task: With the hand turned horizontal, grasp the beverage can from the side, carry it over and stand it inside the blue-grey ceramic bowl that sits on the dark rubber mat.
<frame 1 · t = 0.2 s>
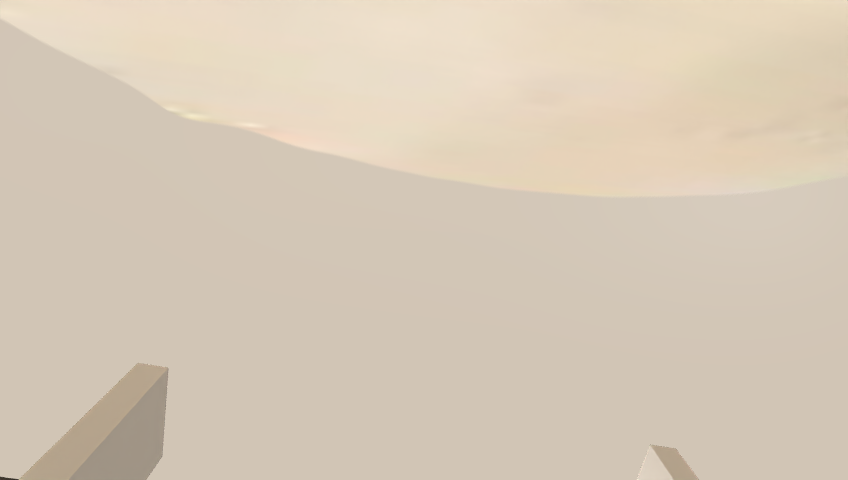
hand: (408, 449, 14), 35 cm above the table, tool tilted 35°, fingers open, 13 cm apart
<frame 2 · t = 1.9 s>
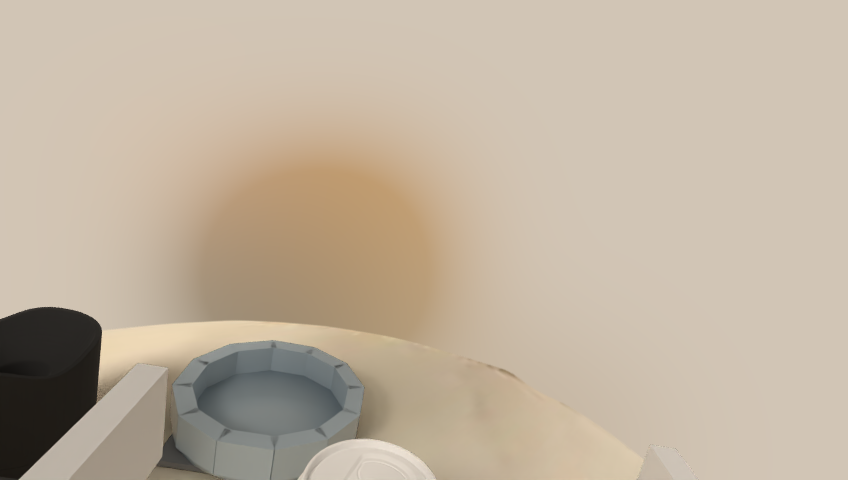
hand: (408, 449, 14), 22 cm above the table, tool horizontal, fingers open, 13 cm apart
bowl: (269, 418, 46), resting on mat
mat: (268, 423, 46), on the table
pen holder: (22, 459, 38), on the table
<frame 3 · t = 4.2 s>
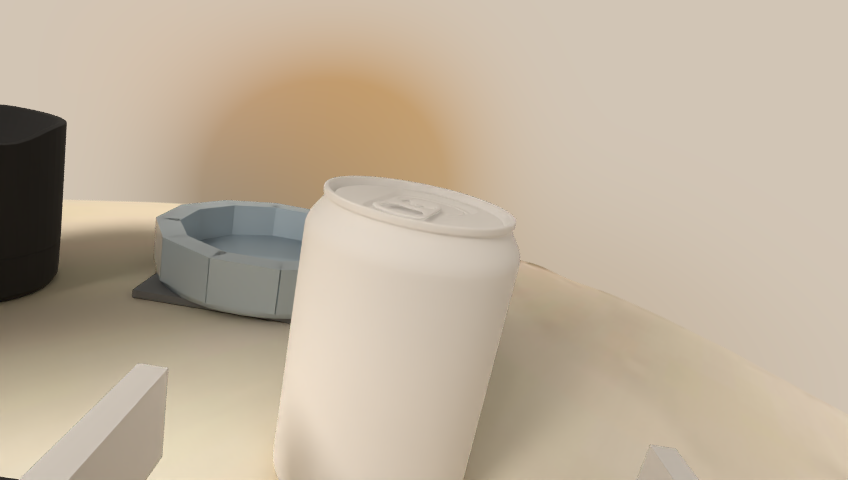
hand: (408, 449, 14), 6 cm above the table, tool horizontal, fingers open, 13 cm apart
beverage can: (367, 470, 22), on the table
bowl: (272, 271, 39), resting on mat
mat: (271, 277, 39), on the table
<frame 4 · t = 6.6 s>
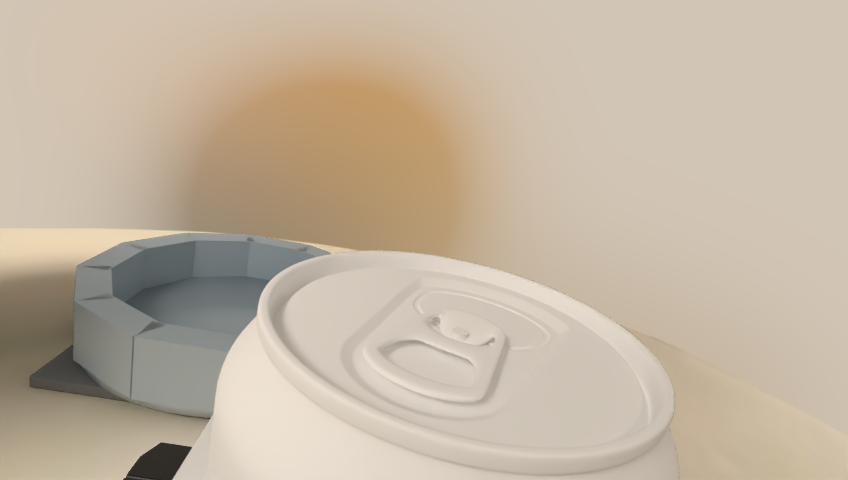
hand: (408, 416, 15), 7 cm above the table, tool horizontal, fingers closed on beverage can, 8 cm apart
bowl: (240, 332, 30), resting on mat
mat: (239, 339, 30), on the table
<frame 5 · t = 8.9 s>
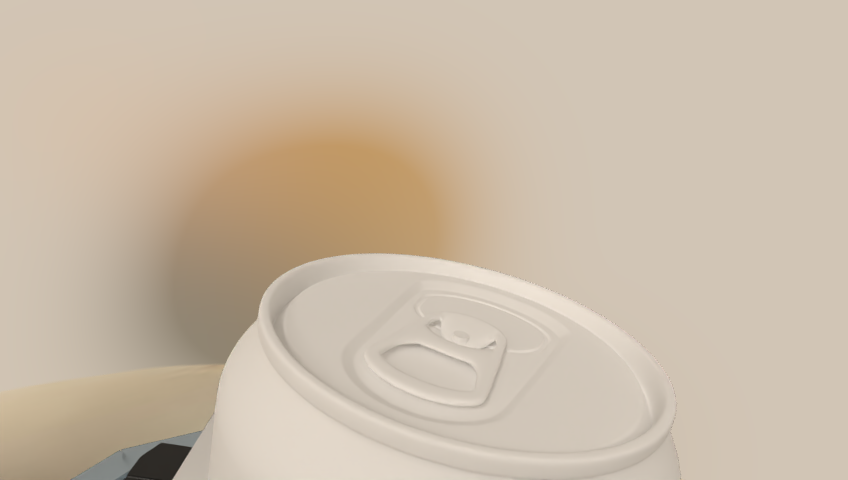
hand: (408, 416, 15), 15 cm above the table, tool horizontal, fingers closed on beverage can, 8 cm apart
when the fingers open (9 cm above the table, at t = 11.5 s): beverage can drops 2 cm, resting on bowl.
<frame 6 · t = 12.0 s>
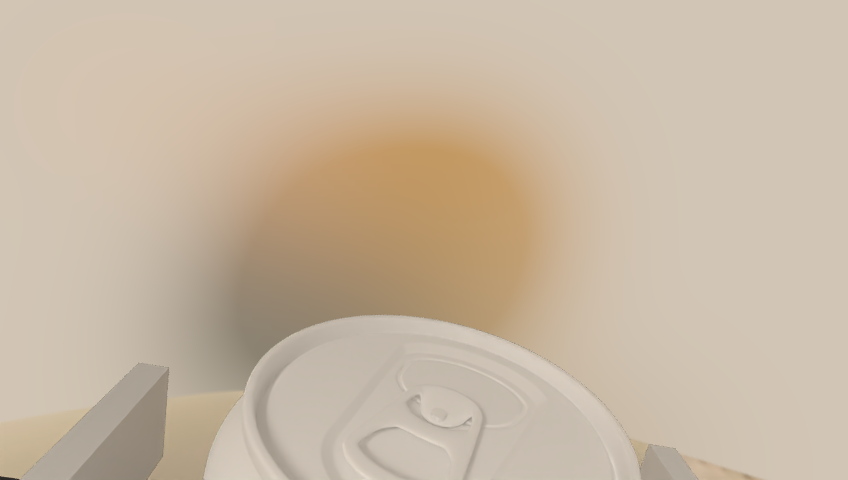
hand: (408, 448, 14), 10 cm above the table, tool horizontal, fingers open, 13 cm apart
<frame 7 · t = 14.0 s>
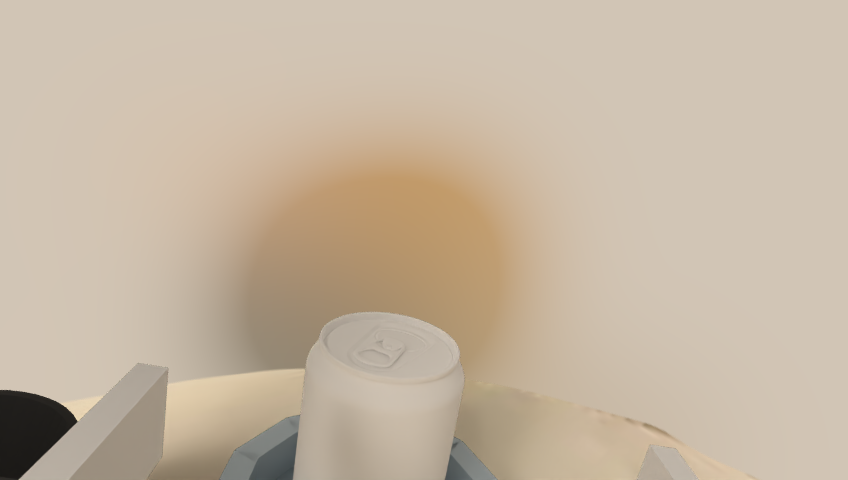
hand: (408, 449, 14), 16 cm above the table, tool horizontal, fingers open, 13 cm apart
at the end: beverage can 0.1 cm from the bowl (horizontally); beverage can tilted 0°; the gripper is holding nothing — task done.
